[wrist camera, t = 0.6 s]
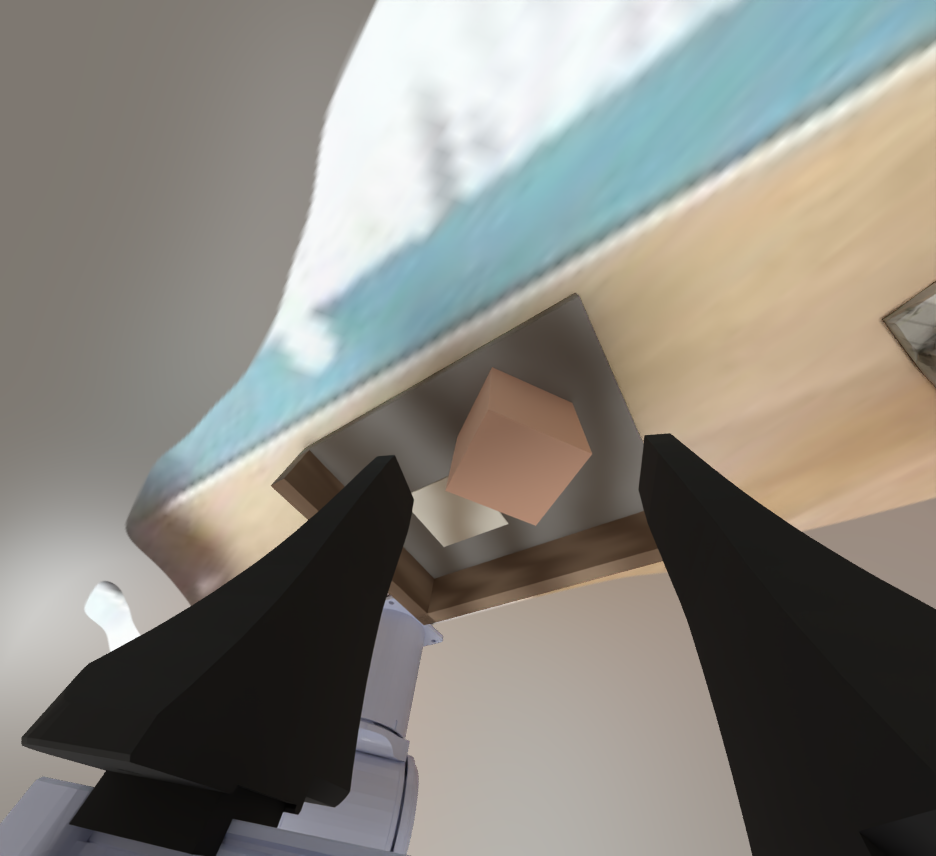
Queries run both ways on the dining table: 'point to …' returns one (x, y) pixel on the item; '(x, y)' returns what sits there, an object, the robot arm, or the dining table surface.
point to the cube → (517, 448)
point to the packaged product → (918, 330)
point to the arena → (479, 527)
